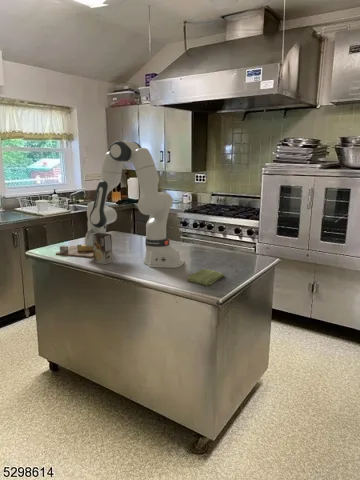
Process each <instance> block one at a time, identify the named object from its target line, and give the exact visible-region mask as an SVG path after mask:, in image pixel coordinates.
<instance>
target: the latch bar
mask: <svg viewBox="0 0 360 480" xmlns="http://www.w3.org/2000/svg"><path fill="white" fill-rule="evenodd" d="M76 246H77V249H78V252H82V251H92V250H93V246H91V247H89V246H86V245H85V244H77V245H76Z"/></svg>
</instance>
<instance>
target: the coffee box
mask: <svg viewBox="0 0 360 480" xmlns="http://www.w3.org/2000/svg"><path fill="white" fill-rule="evenodd" d="M92 239H93V255H94V257H93V263H96V264H101V265H108V264H111V263H113V262H114V261H113V243H112V240H113V239H112V233H111V234H110V233H106V234H105V233H96V234H93V235H92Z"/></svg>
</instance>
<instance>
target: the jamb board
mask: <svg viewBox="0 0 360 480" xmlns="http://www.w3.org/2000/svg"><path fill="white" fill-rule="evenodd" d="M55 255H56V256H64V257H67V256H68V257H76V258H88V259H94V255H93V250H92V251H82V252H78V249H77V245H71V246H68V245H65V244H64V245H63V244H61V245H60V246H59V251H58V252H55Z"/></svg>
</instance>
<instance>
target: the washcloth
mask: <svg viewBox="0 0 360 480" xmlns="http://www.w3.org/2000/svg"><path fill="white" fill-rule="evenodd" d="M223 277H225V274H224V273H223V272H220V271H217V270H213V269H208V268H202V269H200V270H198V271H196V272H194V273H192V274H190V275H188V277H187V278H186V280H187V281H188V282H190V283H194V284H200V285H203V286H205V287H208V286H211V285H213V284H214V283H216V282H217V281H218V280H220V279H221V278H223Z"/></svg>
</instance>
